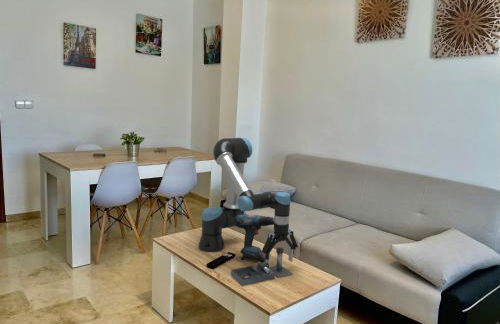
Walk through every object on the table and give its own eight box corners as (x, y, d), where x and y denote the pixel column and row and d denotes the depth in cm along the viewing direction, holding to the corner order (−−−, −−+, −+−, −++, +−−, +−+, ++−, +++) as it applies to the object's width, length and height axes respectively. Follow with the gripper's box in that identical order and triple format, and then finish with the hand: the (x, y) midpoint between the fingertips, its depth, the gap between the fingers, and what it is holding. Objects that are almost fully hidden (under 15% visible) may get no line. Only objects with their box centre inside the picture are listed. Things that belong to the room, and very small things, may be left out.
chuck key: (275, 273, 194) (276, 250, 192) (275, 267, 200) (276, 246, 198) (282, 273, 194) (284, 251, 192) (281, 268, 200) (283, 246, 198)
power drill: (274, 264, 205) (276, 219, 201) (232, 259, 209) (233, 215, 206) (276, 258, 214) (278, 214, 210) (236, 253, 218) (237, 210, 214)
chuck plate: (230, 275, 190) (231, 264, 189) (262, 269, 199) (262, 258, 198) (242, 286, 180) (242, 274, 179) (274, 278, 189) (275, 267, 188)
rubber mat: (265, 268, 200) (265, 267, 200) (279, 265, 204) (279, 264, 204) (278, 277, 190) (278, 277, 189) (292, 274, 194) (293, 273, 194)
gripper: (264, 228, 184) (262, 270, 187) (306, 222, 196) (303, 261, 199) (256, 223, 190) (254, 264, 193) (297, 218, 202) (295, 256, 205)
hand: (279, 263), depth 196 cm, fingers open, 13 cm apart
